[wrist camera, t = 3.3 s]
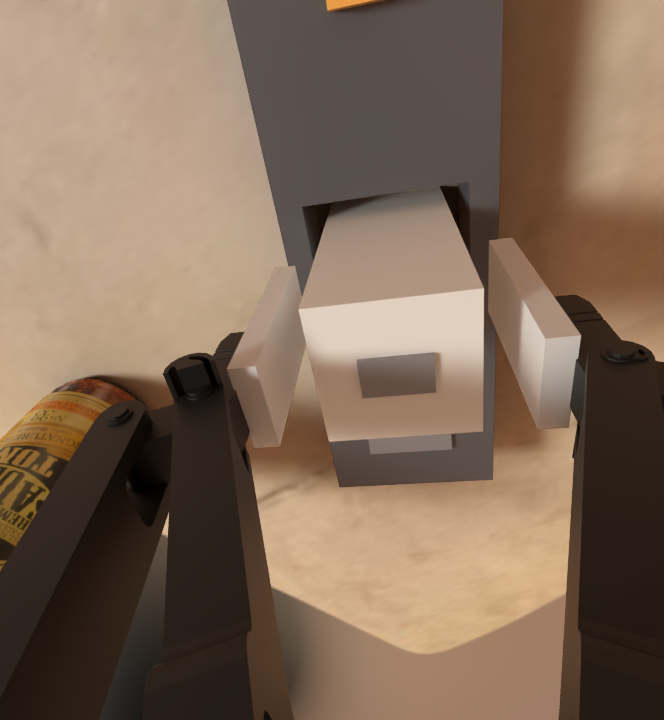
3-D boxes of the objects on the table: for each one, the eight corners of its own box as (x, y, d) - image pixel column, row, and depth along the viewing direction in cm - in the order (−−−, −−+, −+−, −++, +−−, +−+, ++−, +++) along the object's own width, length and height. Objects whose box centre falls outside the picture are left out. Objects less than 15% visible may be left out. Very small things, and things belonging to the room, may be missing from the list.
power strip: (187, -289, 13) (125, -398, 10) (486, -391, 12) (525, -553, 9) (343, 448, 28) (338, 499, 25) (482, 439, 27) (496, 491, 23)
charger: (332, 202, 20) (297, 312, 12) (439, 185, 19) (484, 290, 11) (347, 296, 22) (328, 445, 14) (443, 285, 22) (484, 435, 13)
